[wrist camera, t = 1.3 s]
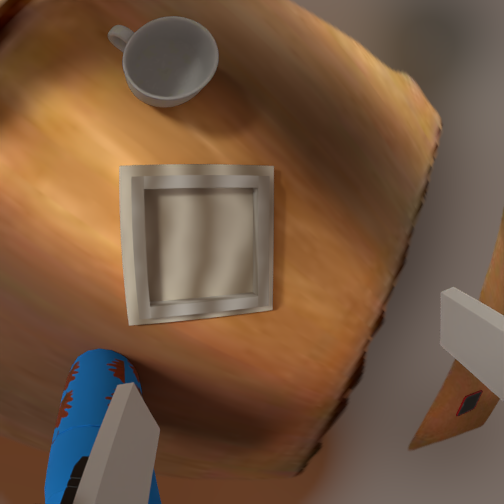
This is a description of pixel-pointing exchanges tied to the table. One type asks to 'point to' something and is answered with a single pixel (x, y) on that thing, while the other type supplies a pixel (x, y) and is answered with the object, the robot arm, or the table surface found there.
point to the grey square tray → (196, 240)
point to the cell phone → (469, 403)
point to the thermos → (86, 416)
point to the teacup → (166, 59)
